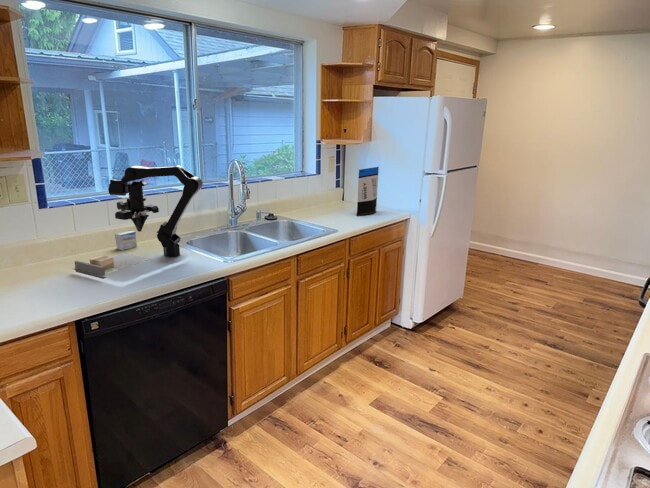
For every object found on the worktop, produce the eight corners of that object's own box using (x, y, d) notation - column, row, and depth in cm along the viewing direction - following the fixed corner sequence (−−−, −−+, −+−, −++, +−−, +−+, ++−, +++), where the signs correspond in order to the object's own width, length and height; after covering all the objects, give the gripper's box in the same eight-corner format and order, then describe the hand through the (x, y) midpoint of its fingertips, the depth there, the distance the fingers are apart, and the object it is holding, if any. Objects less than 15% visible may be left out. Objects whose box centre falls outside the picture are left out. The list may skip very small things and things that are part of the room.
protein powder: (382, 211, 303) (384, 167, 295) (362, 217, 284) (365, 170, 276) (370, 209, 309) (372, 166, 300) (350, 215, 290) (352, 169, 281)
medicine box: (122, 253, 202) (120, 235, 199) (116, 251, 204) (114, 233, 201) (137, 249, 208) (136, 231, 206) (131, 247, 210) (129, 230, 208)
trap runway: (151, 261, 192) (150, 251, 190) (103, 278, 171) (101, 267, 170) (125, 255, 198) (124, 246, 197) (75, 271, 178) (74, 261, 176)
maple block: (114, 266, 180) (113, 257, 179) (101, 271, 175) (100, 261, 174) (103, 264, 183) (102, 255, 181) (90, 268, 177) (89, 259, 176)
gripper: (140, 191, 200) (143, 224, 205) (104, 197, 184) (108, 233, 189) (158, 193, 196) (161, 227, 200) (122, 200, 180) (126, 237, 184)
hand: (139, 231), depth 193 cm, fingers closed
